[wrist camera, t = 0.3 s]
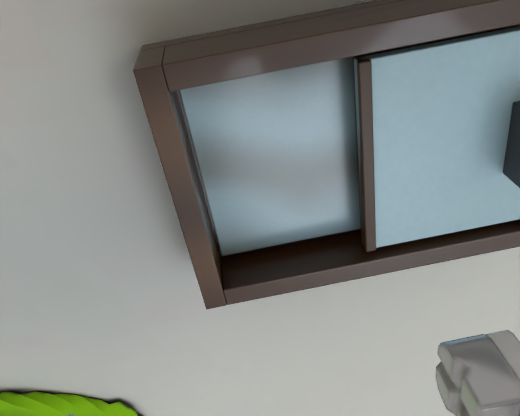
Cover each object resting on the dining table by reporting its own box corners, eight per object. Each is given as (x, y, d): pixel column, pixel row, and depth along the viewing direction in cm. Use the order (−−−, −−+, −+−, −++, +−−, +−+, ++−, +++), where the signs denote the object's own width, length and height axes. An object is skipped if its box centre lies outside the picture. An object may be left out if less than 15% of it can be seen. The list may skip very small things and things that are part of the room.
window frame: (141, 45, 23) (132, 70, 20) (546, -33, 23) (605, -21, 20) (204, 265, 31) (206, 309, 27) (508, 204, 31) (546, 241, 28)
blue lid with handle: (352, 56, 22) (381, 84, 18) (544, 19, 22) (608, 40, 18) (360, 242, 28) (384, 289, 24) (512, 211, 28) (555, 254, 24)
